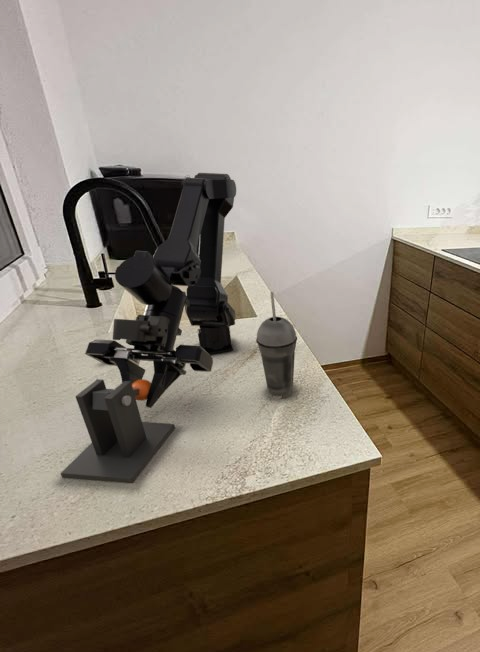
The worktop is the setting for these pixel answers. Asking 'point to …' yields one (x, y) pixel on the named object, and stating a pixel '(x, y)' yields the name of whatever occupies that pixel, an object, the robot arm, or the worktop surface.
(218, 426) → the worktop surface
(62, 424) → the worktop surface
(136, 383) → the lever
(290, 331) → the beverage cup
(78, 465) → the switch bracket
